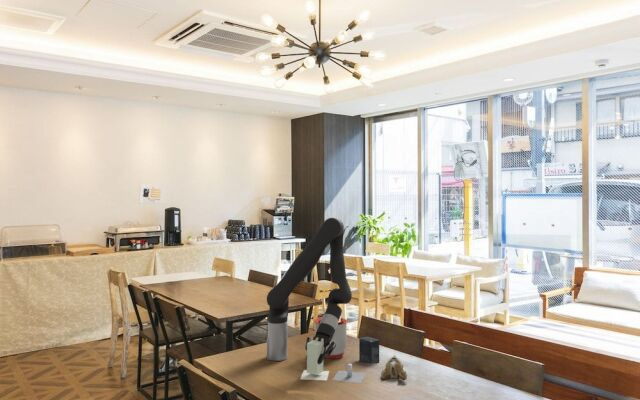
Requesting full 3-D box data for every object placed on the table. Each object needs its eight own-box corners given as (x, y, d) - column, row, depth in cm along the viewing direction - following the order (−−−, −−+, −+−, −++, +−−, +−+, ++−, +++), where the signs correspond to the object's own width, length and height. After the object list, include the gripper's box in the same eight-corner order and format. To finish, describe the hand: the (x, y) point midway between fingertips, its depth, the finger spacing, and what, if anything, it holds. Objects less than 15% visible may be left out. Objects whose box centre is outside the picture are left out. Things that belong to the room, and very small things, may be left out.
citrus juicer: (354, 353, 238) (354, 312, 238) (336, 363, 223) (336, 319, 223) (327, 348, 246) (327, 308, 246) (307, 357, 232) (308, 315, 232)
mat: (300, 381, 201) (300, 379, 201) (303, 372, 212) (303, 369, 212) (326, 382, 199) (326, 380, 199) (329, 373, 210) (329, 371, 210)
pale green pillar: (306, 372, 205) (307, 343, 205) (313, 369, 209) (313, 340, 209) (317, 374, 202) (317, 344, 202) (323, 371, 206) (323, 341, 206)
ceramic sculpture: (406, 352, 212) (407, 365, 197) (407, 371, 213) (407, 386, 198) (382, 350, 214) (380, 364, 199) (382, 370, 215) (380, 385, 200)
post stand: (332, 382, 200) (332, 367, 200) (339, 372, 211) (339, 358, 211) (360, 385, 197) (361, 370, 197) (366, 375, 208) (366, 361, 208)
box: (379, 362, 225) (379, 339, 225) (370, 365, 221) (371, 341, 221) (367, 358, 231) (367, 335, 231) (358, 360, 227) (358, 338, 227)
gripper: (310, 320, 216) (295, 354, 205) (338, 324, 208) (324, 360, 198) (316, 329, 220) (301, 363, 210) (344, 334, 213) (330, 370, 202)
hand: (312, 362), depth 204 cm, fingers closed on pale green pillar, 4 cm apart
